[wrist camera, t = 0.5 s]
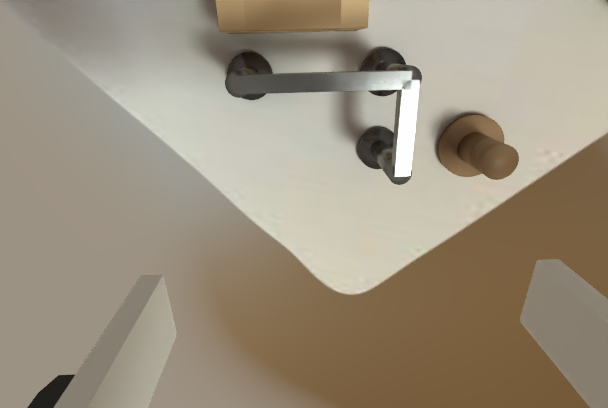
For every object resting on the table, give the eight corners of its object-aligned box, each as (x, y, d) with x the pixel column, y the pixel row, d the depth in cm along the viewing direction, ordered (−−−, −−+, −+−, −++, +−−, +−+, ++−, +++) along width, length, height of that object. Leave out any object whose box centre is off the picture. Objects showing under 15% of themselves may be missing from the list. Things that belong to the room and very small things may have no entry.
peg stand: (442, 115, 34) (470, 128, 28) (504, 113, 34) (544, 125, 28) (434, 174, 36) (459, 197, 31) (492, 172, 36) (527, 194, 31)
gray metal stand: (226, 52, 31) (203, 54, 23) (406, 48, 31) (444, 47, 24) (238, 171, 36) (222, 206, 28) (396, 166, 36) (425, 199, 28)
